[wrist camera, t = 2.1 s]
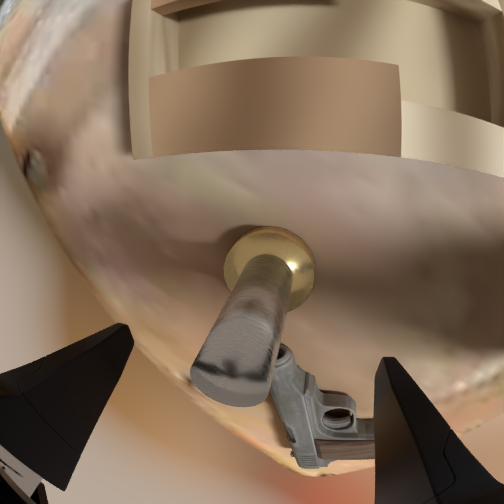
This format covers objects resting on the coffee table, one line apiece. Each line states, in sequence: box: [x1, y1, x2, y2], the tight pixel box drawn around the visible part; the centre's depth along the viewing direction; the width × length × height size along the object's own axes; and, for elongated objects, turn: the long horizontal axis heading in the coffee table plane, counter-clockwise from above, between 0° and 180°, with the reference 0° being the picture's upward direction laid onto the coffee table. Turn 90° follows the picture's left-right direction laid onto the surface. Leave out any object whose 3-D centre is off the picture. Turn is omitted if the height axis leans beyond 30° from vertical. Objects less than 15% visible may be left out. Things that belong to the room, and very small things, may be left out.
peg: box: [190, 226, 315, 407], centre depth 11 cm, size 4×4×8 cm
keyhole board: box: [128, 0, 504, 178], centre depth 7 cm, size 17×10×3 cm, turn 92°
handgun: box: [270, 345, 375, 469], centre depth 17 cm, size 3×16×12 cm
